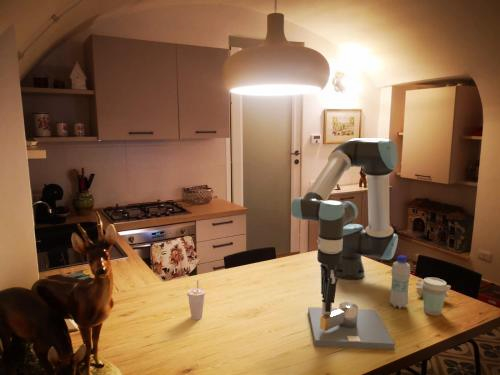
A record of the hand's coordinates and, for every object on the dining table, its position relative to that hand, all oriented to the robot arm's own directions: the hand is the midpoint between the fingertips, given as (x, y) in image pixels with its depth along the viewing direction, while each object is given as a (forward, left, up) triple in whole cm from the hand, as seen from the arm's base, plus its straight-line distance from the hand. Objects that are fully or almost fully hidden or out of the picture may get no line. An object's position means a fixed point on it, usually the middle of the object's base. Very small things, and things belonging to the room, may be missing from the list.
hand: (326, 319), depth 122 cm
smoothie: (-7, -44, -5) cm, 45 cm away
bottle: (-22, +31, -5) cm, 38 cm away
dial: (0, +4, -3) cm, 5 cm away
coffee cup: (-18, +42, -5) cm, 46 cm away
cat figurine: (-31, +46, -5) cm, 56 cm away
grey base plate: (-3, +8, -5) cm, 10 cm away
